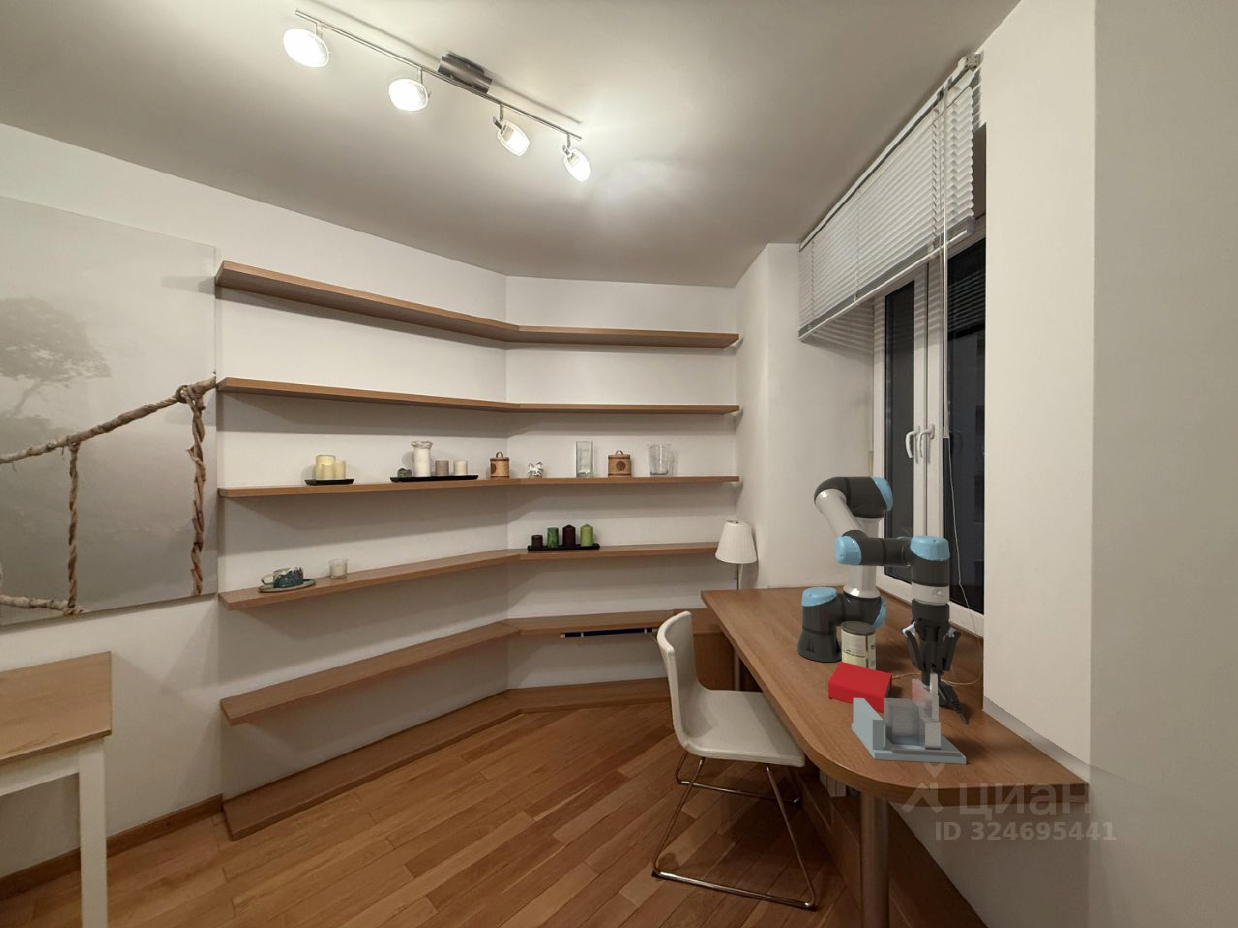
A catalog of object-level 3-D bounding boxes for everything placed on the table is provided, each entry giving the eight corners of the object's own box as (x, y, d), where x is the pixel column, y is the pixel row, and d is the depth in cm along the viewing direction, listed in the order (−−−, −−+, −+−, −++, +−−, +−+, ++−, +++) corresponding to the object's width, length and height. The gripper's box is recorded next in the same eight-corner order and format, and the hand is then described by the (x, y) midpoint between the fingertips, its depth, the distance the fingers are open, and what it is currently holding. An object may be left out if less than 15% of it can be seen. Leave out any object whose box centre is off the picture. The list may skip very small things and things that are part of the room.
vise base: (851, 728, 116) (851, 695, 116) (933, 732, 114) (933, 699, 114) (874, 758, 104) (874, 722, 104) (966, 763, 102) (966, 726, 102)
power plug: (958, 722, 118) (931, 676, 127) (944, 734, 122) (920, 689, 132) (979, 721, 118) (951, 676, 127) (964, 734, 122) (938, 689, 132)
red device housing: (840, 676, 146) (840, 660, 146) (891, 689, 137) (891, 672, 137) (828, 698, 132) (828, 681, 132) (883, 714, 123) (883, 696, 123)
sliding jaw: (902, 726, 114) (902, 677, 114) (916, 727, 114) (916, 677, 114) (925, 750, 104) (925, 696, 104) (941, 751, 104) (941, 697, 104)
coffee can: (842, 658, 158) (841, 618, 158) (876, 664, 153) (875, 623, 153) (840, 671, 149) (839, 629, 149) (876, 678, 144) (875, 634, 144)
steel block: (884, 734, 111) (884, 697, 111) (909, 735, 111) (909, 698, 111) (892, 744, 107) (892, 706, 107) (919, 745, 107) (919, 707, 107)
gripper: (911, 605, 106) (912, 706, 105) (969, 606, 105) (970, 707, 105) (894, 596, 113) (894, 690, 113) (947, 596, 112) (948, 691, 112)
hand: (931, 698), depth 109 cm, fingers closed
